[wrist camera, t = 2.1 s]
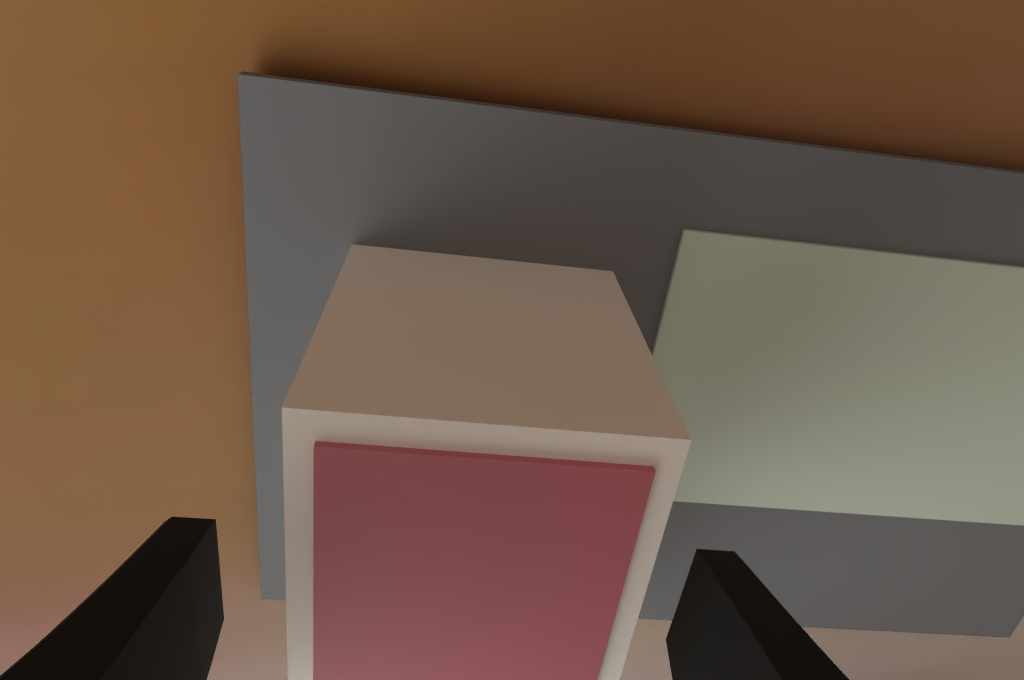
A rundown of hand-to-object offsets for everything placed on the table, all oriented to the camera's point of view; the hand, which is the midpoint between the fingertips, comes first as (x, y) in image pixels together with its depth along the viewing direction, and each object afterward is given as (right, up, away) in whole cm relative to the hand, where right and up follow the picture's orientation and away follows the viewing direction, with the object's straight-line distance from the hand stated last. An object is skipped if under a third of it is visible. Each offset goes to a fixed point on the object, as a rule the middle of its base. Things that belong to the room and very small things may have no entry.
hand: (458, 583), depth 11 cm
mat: (+5, +2, +3) cm, 6 cm away
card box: (0, +2, +3) cm, 4 cm away
